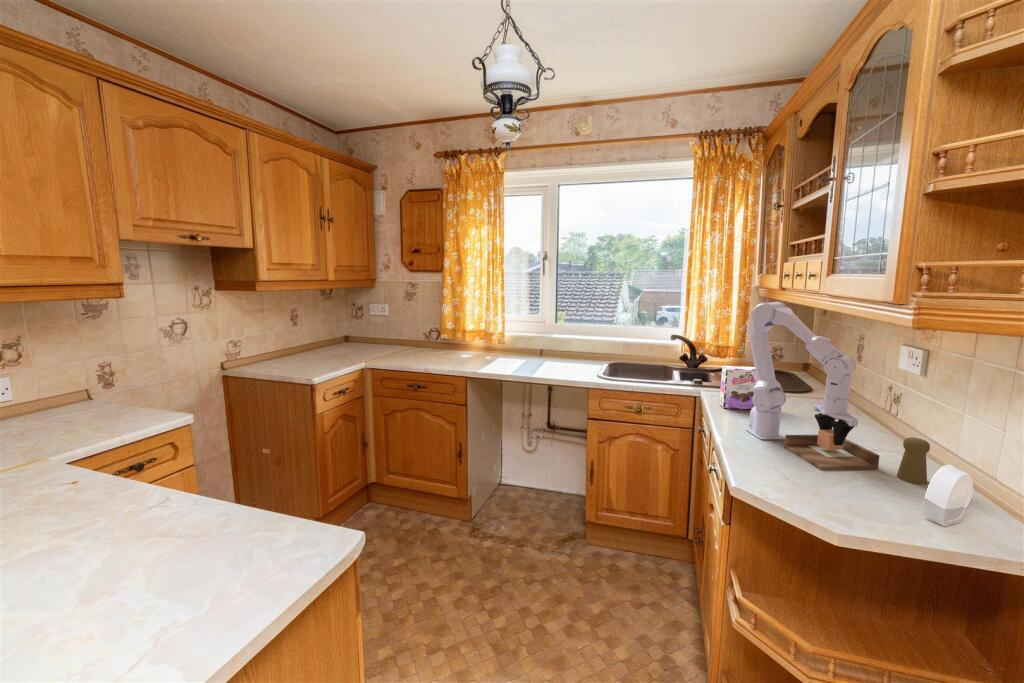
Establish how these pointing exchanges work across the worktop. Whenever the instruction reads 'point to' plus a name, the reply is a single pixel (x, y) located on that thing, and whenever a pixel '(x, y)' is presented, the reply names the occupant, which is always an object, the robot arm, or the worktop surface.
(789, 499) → the worktop surface
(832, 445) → the cube
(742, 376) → the candy box
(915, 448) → the cork
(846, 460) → the arena
